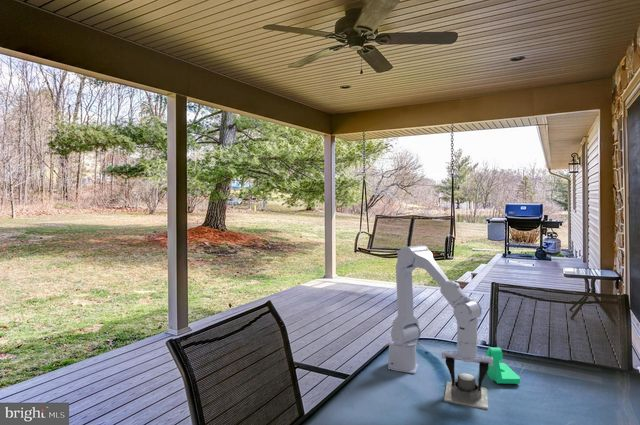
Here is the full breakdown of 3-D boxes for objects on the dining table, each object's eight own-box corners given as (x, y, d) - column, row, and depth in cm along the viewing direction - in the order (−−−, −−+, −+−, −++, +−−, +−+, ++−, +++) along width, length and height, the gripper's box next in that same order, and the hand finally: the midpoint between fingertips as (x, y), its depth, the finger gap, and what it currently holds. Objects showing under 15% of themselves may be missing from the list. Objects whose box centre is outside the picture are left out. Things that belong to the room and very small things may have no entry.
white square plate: (444, 401, 115) (444, 391, 115) (446, 383, 126) (447, 373, 126) (488, 409, 111) (488, 398, 111) (487, 390, 122) (487, 380, 122)
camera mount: (521, 386, 124) (522, 355, 124) (497, 386, 125) (497, 355, 124) (504, 370, 136) (505, 341, 136) (482, 369, 136) (483, 341, 136)
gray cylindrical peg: (457, 395, 117) (457, 378, 117) (457, 388, 122) (457, 371, 122) (475, 399, 115) (475, 381, 115) (474, 391, 120) (475, 374, 120)
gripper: (441, 341, 117) (440, 385, 117) (493, 348, 111) (492, 395, 112) (442, 333, 123) (442, 375, 124) (492, 340, 118) (491, 384, 118)
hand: (466, 384), depth 118 cm, fingers open, 7 cm apart
